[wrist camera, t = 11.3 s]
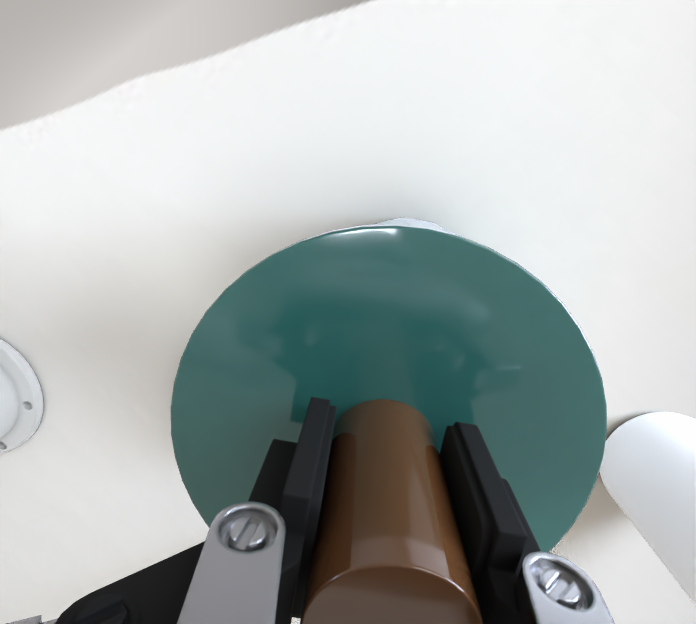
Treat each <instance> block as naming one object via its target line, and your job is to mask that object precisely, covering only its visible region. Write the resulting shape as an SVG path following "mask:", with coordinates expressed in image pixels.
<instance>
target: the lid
mask: <svg viewBox="0 0 696 624" xmlns="http://www.w3.org/2000/svg"><path fill="white" fill-rule="evenodd" d="M311 397H316V398H322V399H328V400H330V405H332V406H337V410H336V416H335V423H334V429H333V435H332V441H331V447H330V454H329V460H328V466H327V472H326V478H325V485H324V491H323V497H322V503H321V509H320V515H319V521H318V526H317V532H316V538H315V544H314V550H313V556H312V559H311V563H310V567H309V572H308V578H307V584H306V591H305V597H304V603H303V609H302V615H301V621H300V624H484V623H483V619H482V615H481V612H480V608H479V604H478V600H477V596H476V593H475V589H474V585H473V581H472V577H471V573H470V570H469V566H468V562H467V558H466V554H465V550H464V547H463V543H462V539H461V535H460V531H459V528H458V524H457V520H456V516H455V512H454V508H453V505H452V501H451V497H450V493H449V489H448V486H447V482H446V478H445V474H444V470H443V466H442V463H441V459H440V455H439V454H440V450H441V446H442V442H443V438H444V434H445V431H446V428H447V426H448V425H449V426H453V425H454V423H455V422H462V423H468V424H474V425H477V426H478V428H479V430H480V432H481V435H482V437H483V439H484V441H485V443H486V446H487V448H488V450H489V452H490V454H491V457H492V459H493V461H494V463H495V465H496V467H497V470H498V472H499V474H500V476H501V478H504V479H506V480H507V481H508V483H509V484H510V487H511V489H512V491H513V493H514V495H515V497H516V499H517V501H518V503H519V506H520V508H521V510H522V512H523V514H524V516H525V518H526V520H527V522H528V524H529V527H530V529H531V531H532V533H533V535H534V537H535V539H536V541H537V543H538V546H539V548H540V550H541V552H549V551H550V550H551V549H552V548H553V547H555V546H556V544H557V543H558V542H559V541H560V540H561V539H562V537H563V536H564V535H565V534H566V533H567V531H568V530H569V529H570V528H571V527H572V525H573V524H574V522H575V521H576V519H577V517H578V516H579V514H580V513H581V511H582V510H583V508H584V506H585V505H586V503H587V500H588V498H589V496H590V494H591V492H592V490H593V487H594V485H595V483H596V480H597V477H598V474H599V470H600V467H601V463H602V460H603V455H604V448H605V441H606V434H607V411H606V400H605V394H604V388H603V383H602V377H601V374H600V371H599V368H598V365H597V362H596V359H595V356H594V353H593V351H592V349H591V347H590V345H589V343H588V341H587V339H586V337H585V336H584V334H583V332H582V330H581V328H580V326H579V325H578V323H577V322H576V321H575V319H574V318H573V317H572V315H571V314H570V312H569V311H568V310H567V308H566V307H565V306H564V304H563V303H562V302H561V301H560V300H559V299H558V298H557V297H556V296H555V295H554V294H553V293H552V292H551V291H550V290H549V289H548V288H547V287H546V286H545V285H544V284H543V283H542V282H541V281H540V280H539V279H537V278H536V277H535V276H533V275H532V274H531V273H529V272H528V271H527V270H526V269H524V268H523V267H522V266H520V265H519V264H518V263H516V262H514V261H512V260H511V259H509V258H507V257H505V256H503V255H502V254H500V253H498V252H496V251H494V250H493V249H491V248H489V247H487V246H484V245H482V244H479V243H477V242H474V241H471V240H469V239H466V238H464V237H461V236H459V235H456V234H452V233H448V232H443V231H439V230H435V229H431V228H427V227H418V226H408V225H398V224H383V225H361V226H355V227H349V228H343V229H337V230H332V231H328V232H325V233H322V234H319V235H316V236H312V237H309V238H306V239H303V240H301V241H299V242H296V243H294V244H292V245H290V246H288V247H286V248H284V249H281V250H279V251H277V252H275V253H274V254H272V255H270V256H269V257H267V258H266V259H264V260H263V261H261V262H260V263H258V264H256V265H255V266H253V267H252V268H250V269H249V270H247V271H246V272H245V273H244V274H243V275H241V276H240V277H239V278H238V279H237V280H236V281H234V282H233V283H232V284H231V285H230V286H229V287H228V288H226V289H225V290H224V291H223V293H222V294H221V295H220V296H219V297H218V298H217V300H216V301H215V302H214V303H213V304H212V305H211V306H210V308H209V309H208V310H207V311H206V313H205V314H204V316H203V317H202V319H201V320H200V322H199V324H198V325H197V327H196V328H195V330H194V331H193V333H192V335H191V337H190V339H189V342H188V344H187V346H186V348H185V350H184V353H183V355H182V357H181V360H180V364H179V367H178V371H177V374H176V378H175V382H174V388H173V396H172V404H171V435H172V441H173V447H174V453H175V458H176V462H177V465H178V468H179V471H180V474H181V478H182V481H183V483H184V485H185V487H186V489H187V492H188V494H189V496H190V498H191V500H192V502H193V504H194V506H195V507H196V509H197V510H198V512H199V514H200V515H201V517H202V518H203V520H204V521H205V523H206V524H207V525H208V527H209V528H210V526H211V523H212V522H213V520H214V518H215V516H216V515H217V514H218V513H219V512H221V511H222V510H223V509H224V508H226V507H228V506H230V505H232V504H236V503H240V502H248V500H249V497H250V495H251V492H252V490H253V487H254V485H255V482H256V480H257V477H258V475H259V472H260V470H261V467H262V465H263V462H264V460H265V457H266V455H267V452H268V450H269V447H270V445H271V443H272V441H273V439H278V440H284V441H290V442H296V443H298V439H299V436H300V433H301V429H302V426H303V422H304V419H305V416H306V412H307V409H308V406H309V402H310V399H311Z"/></svg>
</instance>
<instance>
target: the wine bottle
mask: <svg viewBox="0 0 696 624" xmlns="http://www.w3.org/2000/svg"><path fill="white" fill-rule="evenodd" d="M600 475H601V478H602V481H603V483H604V486H605V488H606V489H607V491H608V492H609V494H610V495H611V496H612V498H613V499H614V500H615V502H616V503H617V504H618V505H619V507H620V508H621V509H622V511H623V512H624V513H625V515H626V516H627V517H628V518H629V520H630V521H631V522H632V524H633V525H634V526H635V528H636V529H637V530H638V531H639V533H640V534H641V535H642V537H643V538H644V539H645V541H646V542H647V543H648V544H649V546H650V547H651V548H652V550H653V551H654V552H655V554H656V555H657V556H658V557H659V559H660V560H661V561H662V563H663V564H664V565H665V567H666V568H667V569H668V570H669V572H670V573H671V574H672V576H673V577H674V578H675V580H676V581H677V582H678V583H679V585H680V586H681V587H682V589H683V590H684V591H685V592H686V594H687V595H688V596H689V598H690V599H691V600H692V602H693V603H694V604H695V605H696V419H694V418H691V417H689V416H685V415H682V414H678V413H672V412H653V413H648V414H643V415H640V416H638V417H635V418H633V419H631V420H629V421H627V422H625V423H624V424H622V425H621V426H619V427H618V428H617V429H616V430H615V431H614V432H613V433H612V434H611V435H610V437H609V438H608V439H607V440H606V442H605V448H604V455H603V460H602V463H601V467H600Z"/></svg>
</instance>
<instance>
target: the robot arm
mask: <svg viewBox="0 0 696 624" xmlns="http://www.w3.org/2000/svg"><path fill="white" fill-rule="evenodd" d="M336 410H337V406H332V405H330V400H328V399H322V398H316V397H311V399H310V402H309V406H308V409H307V412H306V416H305V419H304V422H303V426H302V429H301V433H300V436H299V439H298V443H296V442H290V441H284V440H278V439H273V441H272V443H271V445H270V447H269V450H268V452H267V455H266V457H265V460H264V462H263V465H262V467H261V470H260V472H259V475H258V477H257V480H256V482H255V485H254V487H253V490H252V492H251V495H250V497H249V500H248V502H240V503H236V504H232V505H230V506H228V507H226V508H224V509H223V510H222V511H221V512H219V513H218V514H217V515H216V516H215V518H214V520H213V522H212V523H211V526H210V529H209V532H208V535H207V538H206V540H205V542H202V543H200V544H198V545H196V546H194V547H191V548H189V549H187V550H185V551H183V552H180V553H178V554H176V555H174V556H171V557H169V558H167V559H165V560H163V561H160V562H158V563H156V564H154V565H152V566H149V567H147V568H145V569H143V570H140V571H138V572H136V573H134V574H132V575H129V576H127V577H125V578H123V579H121V580H118V581H116V582H114V583H112V584H110V585H107V586H105V587H103V588H101V589H98V590H96V591H94V592H92V593H90V594H88V595H86V596H84V597H83V598H81V599H79V600H78V601H76V602H74V603H73V604H72V605H71V606H70V607H69V608H68V609H66V610H65V611H64V612H63V613H62V614H61V615H60V617H59V618H58V619H54V620H51V621H47V622H43V623H42V621H41V615H40V616H35V617H31V618H27V619H23V620H19V621H15V622H11V623H7V624H291V619H292V617H295V618H301V615H302V609H303V603H304V597H305V591H306V584H307V578H308V572H309V567H310V563H311V559H312V556H313V550H314V544H315V538H316V532H317V526H318V521H319V515H320V509H321V503H322V497H323V491H324V485H325V478H326V472H327V466H328V460H329V454H330V447H331V441H332V435H333V429H334V423H335V416H336ZM42 414H43V396H42V391H41V387H40V384H39V382H38V379H37V377H36V375H35V373H34V372H33V370H32V368H31V367H30V365H29V364H28V362H27V361H26V360H25V359H24V358H23V357H22V355H21V354H20V353H19V352H18V351H16V350H15V349H14V348H13V347H12V346H11V345H10V344H8V343H6V342H5V341H3V340H2V339H0V454H2V453H5V452H9V451H11V450H13V449H15V448H17V447H19V446H20V445H21V444H23V443H24V442H25V441H27V440H28V439H29V438H30V437H31V436H32V435H33V434H34V433H35V432H36V430H37V428H38V426H39V424H40V422H41V419H42ZM439 455H440V459H441V463H442V466H443V470H444V474H445V478H446V482H447V486H448V489H449V493H450V497H451V501H452V505H453V508H454V512H455V516H456V520H457V524H458V528H459V531H460V535H461V539H462V543H463V547H464V550H465V554H466V558H467V562H468V566H469V570H470V573H471V577H472V581H473V585H474V589H475V593H476V596H477V600H478V604H479V608H480V612H481V615H482V619H483V623H484V624H615V623H614V621H613V619H612V616H611V614H610V612H609V610H608V608H607V606H606V604H605V602H604V600H603V597H602V595H601V593H600V591H599V590H598V588H597V586H596V585H595V583H594V582H593V581H592V580H591V578H590V577H589V576H588V575H587V574H586V573H585V572H584V571H583V570H581V569H580V568H579V567H577V566H576V565H575V564H574V563H572V562H570V561H568V560H567V559H565V558H563V557H561V556H558V555H555V554H552V553H549V552H541V550H540V548H539V546H538V543H537V541H536V539H535V537H534V535H533V533H532V531H531V529H530V527H529V524H528V522H527V520H526V518H525V516H524V514H523V512H522V510H521V508H520V506H519V503H518V501H517V499H516V497H515V495H514V493H513V491H512V489H511V487H510V484H509V483H508V481H507V480H506V479H504V478H501V476H500V474H499V472H498V470H497V467H496V465H495V463H494V461H493V459H492V457H491V454H490V452H489V450H488V448H487V446H486V443H485V441H484V439H483V437H482V435H481V432H480V430H479V428H478V426H477V425H474V424H468V423H462V422H455V423H454V425H453V426H449V425H448V426H447V428H446V431H445V434H444V438H443V442H442V446H441V450H440V454H439Z"/></svg>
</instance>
